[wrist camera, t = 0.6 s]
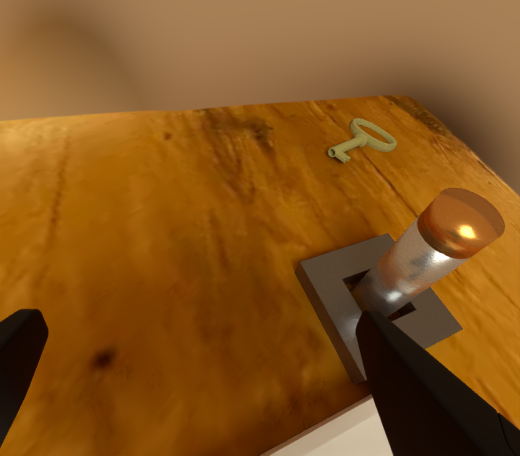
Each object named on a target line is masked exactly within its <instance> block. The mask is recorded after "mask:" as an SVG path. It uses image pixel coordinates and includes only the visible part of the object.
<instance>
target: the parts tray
mask: <svg viewBox="0 0 520 456" xmlns="http://www.w3.org/2000/svg"><path fill="white" fill-rule="evenodd" d="M259 456H393V454H392V451H391V448H390V445H389V443H388V440H387V437H386V434H385V431H384V428H383V426H382V423H381V420H380V417H379V414H378V411H377V409H376V406H375V403H374V400H373V397H372V394H370V395H368V396H366V397H365V398H363V399H361V400H359V401H357V402H356V403H354V404H352V405H350V406H348V407H346V408H345V409H343V410H341V411H339V412H337V413H336V414H334V415H332V416H330V417H328V418H327V419H325V420H323V421H321V422H319V423H317V424H316V425H314V426H312V427H310V428H308V429H307V430H305V431H303V432H301V433H299V434H297V435H296V436H294V437H292V438H290V439H288V440H287V441H285V442H283V443H281V444H279V445H277V446H276V447H274V448H272V449H270V450H268V451H267V452H265V453H263V454H261V455H259Z"/></svg>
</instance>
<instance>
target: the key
mask: <svg viewBox="0 0 520 456" xmlns="http://www.w3.org/2000/svg"><path fill="white" fill-rule="evenodd" d="M358 125H362V126H365V127H368V128H370V129H372V130H374V131H376V132H377V133H379V134H380V135H381V136H383V137H384V138H385V139H386V140H387V142H388V143H389V144H387V143H384V142H381V141H379V140H377V139H375V138H373V137H372V136H370V135H368V134H367V133H366V132H364V131H363V130H362V129H361V128H360V127H359V126H358ZM350 130H351V131H352V133H353V134H354V135H355V136H354V138H353V139H351V140H349V141H346V142H344V143H341V144H339V145H337V146H334V147H332V148H330V149H329V150H328V154H329V156H330V157H335V156H336V157H337V158H338V159H340V160H341V161H342V162H343V163H345V162H346V161H349V160H350V157H349V156H347V155H346V154H345V153H344V152H346V151H348V150H350V149H353V148H355V147H357V146H360V147H364V146H365V145H366V144H367V145H368V146H370V147H372V148H374V149H377V150H380V151H384V152H389V151H392V150H394V149H395V147H396V145H397V142H396V140H395V139H394V138H393V137H392V136H391V135H390V134H388V133H387V132H386V131H384V130H383V129H381V128H379V127H378V126H376V125H374V124H373V123H371V122H369V121H366V120H364V119H360V118H356V119H354V120H353V121H352V122H351V124H350Z"/></svg>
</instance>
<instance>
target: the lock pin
mask: <svg viewBox="0 0 520 456" xmlns="http://www.w3.org/2000/svg"><path fill="white" fill-rule="evenodd" d="M504 229H505V225H504V221H503V218H502V216H501V215H500V213H499V212H498V211H497V209H496V208H495V207H494V206H493V205H492V204H491V203H489V202H488V201H487V200H486V199H484V198H483V197H481V196H479V195H477V194H475V193H473V192H471V191H468V190H465V189H461V188H448V189H445V190H443V191H441V192H440V193H439V195H438V196H437V197H436V198H435V199H434V200H433V201H432V202H431V203H430V204H429V206H428V207H427V208H426V209H425V210H424V211H423V212H422V213H421V214H420V215H419V217H418V218H417V219H416V220H415V221H414V222H413V223H412V224H411V225H410V226H409V228H408V229H407V230H406V231H405V232H404V233H403V234H402V235H401V236H400V237H399V239H398V240H397V241H396V242H395V243H394V244H393V245H392V246H391V247H390V248H389V250H388V251H387V252H386V253H385V254H384V255H383V256H382V257H381V258H380V259H379V261H378V262H377V263H376V264H375V265H374V266H373V267H372V268H371V269H370V270H369V272H368V273H367V274H366V275H365V276H364V277H363V278H362V279H361V280H360V281H359V283H358V284H357V285H356V286H355V287H354V288H353V289H352V290H351V292H350V293H351V295H352V297H353V298H354V300H355V301H356V303H357V305H358V306H359V308H360V309H361V311H362V312H363V311H364V310H366V309H375V310H378V311H380V312H381V313H382V314H383V315H385V316H386V317H389V316H390V315H391V314H393V313H394V312H396V311H397V310H398V309H400V308H401V307H403V306H404V305H405V304H407V303H408V302H410V301H411V300H412V299H414V298H415V297H417V296H418V295H419V294H421V293H422V292H423V291H425V290H426V289H428V288H429V287H430V286H432V285H433V284H435V283H436V282H437V281H439V280H440V279H442V278H443V277H444V276H446V275H447V274H449V273H450V272H451V271H453V270H454V269H456V268H457V267H458V266H460V265H461V264H462V263H464V262H465V261H467V260H468V259H469V258H471V257H472V256H474V255H475V254H476V253H478V252H479V251H481V250H482V249H483V248H485V247H486V246H488V245H489V244H490V243H492V242H493V241H495V240H496V239H497V238H499V237H500V236H501V235H502V234H503V233H504Z"/></svg>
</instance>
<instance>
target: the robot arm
mask: <svg viewBox="0 0 520 456" xmlns="http://www.w3.org/2000/svg"><path fill="white" fill-rule="evenodd" d="M355 333H356V338H357V342H358V346H359V350H360V354H361V358H362V362H363V367H364V371H365V375H366V378H367V382H368V386H369V389H370V392H371V394H372V397H373V400H374V403H375V406H376V409H377V411H378V414H379V417H380V420H381V423H382V426H383V428H384V431H385V434H386V437H387V440H388V443H389V445H390V448H391V451H392V454H393V456H520V430H519V429H518V428H517V427H516V426H514V425H513V424H512V423H511V422H510V421H509V420H507V419H506V418H505V417H504V416H503V415H501V414H500V413H497V411H496V410H495V409H494V408H493V407H492V406H491V405H489V404H488V403H487V402H486V401H485V400H484V399H482V398H481V397H480V396H479V395H478V394H477V393H475V392H474V391H473V390H472V389H471V388H469V387H468V386H467V385H466V384H465V383H464V382H462V381H461V380H460V379H459V378H458V377H456V376H455V375H454V374H453V373H452V372H451V371H449V370H448V369H447V368H446V367H445V366H444V365H442V364H441V363H440V362H439V361H438V360H436V359H435V358H434V357H433V356H432V355H431V354H429V353H428V352H427V351H426V350H425V349H423V348H422V347H421V346H420V345H419V344H418V343H416V342H415V341H414V340H413V339H412V338H410V337H409V336H408V335H407V334H406V333H405V332H403V331H402V330H401V329H400V328H399V327H398V326H396V325H395V324H394V323H393V322H392V321H390V320H389V319H388V318H387V317H386V316H385V315H383V314H382V313H381V312H380V311H378V310H375V309H366V310H364V311H363V312H362V314H361V316H360V318H359V320H358V323H357V325H356V329H355ZM47 338H48V327H47V325H46V322H45V320H44V318H43V315H42V313H41V311H40V310H38V309H20V310H18V311H16V312H15V313H13V314H12V315H10V316H9V317H7V318H6V319H4V320H3V321H1V322H0V447H1V445H2V443H3V441H4V439H5V437H6V435H7V433H8V431H9V429H10V427H11V425H12V423H13V421H14V419H15V417H16V415H17V413H18V411H19V409H20V407H21V405H22V403H23V400H24V398H25V396H26V394H27V391H28V389H29V386H30V384H31V381H32V378H33V376H34V373H35V370H36V368H37V365H38V362H39V360H40V357H41V354H42V352H43V349H44V346H45V344H46V341H47Z"/></svg>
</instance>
